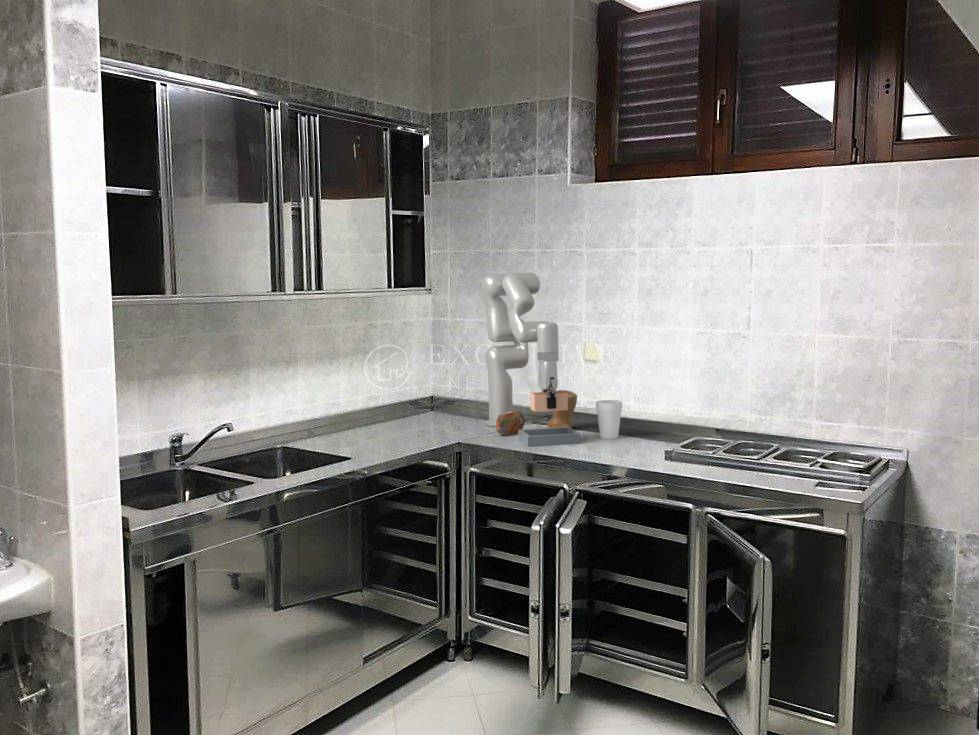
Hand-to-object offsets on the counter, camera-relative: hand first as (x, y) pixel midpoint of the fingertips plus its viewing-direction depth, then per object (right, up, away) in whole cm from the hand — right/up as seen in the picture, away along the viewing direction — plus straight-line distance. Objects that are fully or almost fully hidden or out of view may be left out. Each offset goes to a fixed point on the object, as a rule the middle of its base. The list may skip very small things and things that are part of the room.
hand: (548, 406), depth 309 cm
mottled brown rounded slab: (-13, -11, +18) cm, 25 cm away
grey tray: (0, -12, +2) cm, 13 cm away
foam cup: (+23, -12, +7) cm, 26 cm away
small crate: (0, -1, 0) cm, 1 cm away
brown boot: (+7, -10, +26) cm, 29 cm away
